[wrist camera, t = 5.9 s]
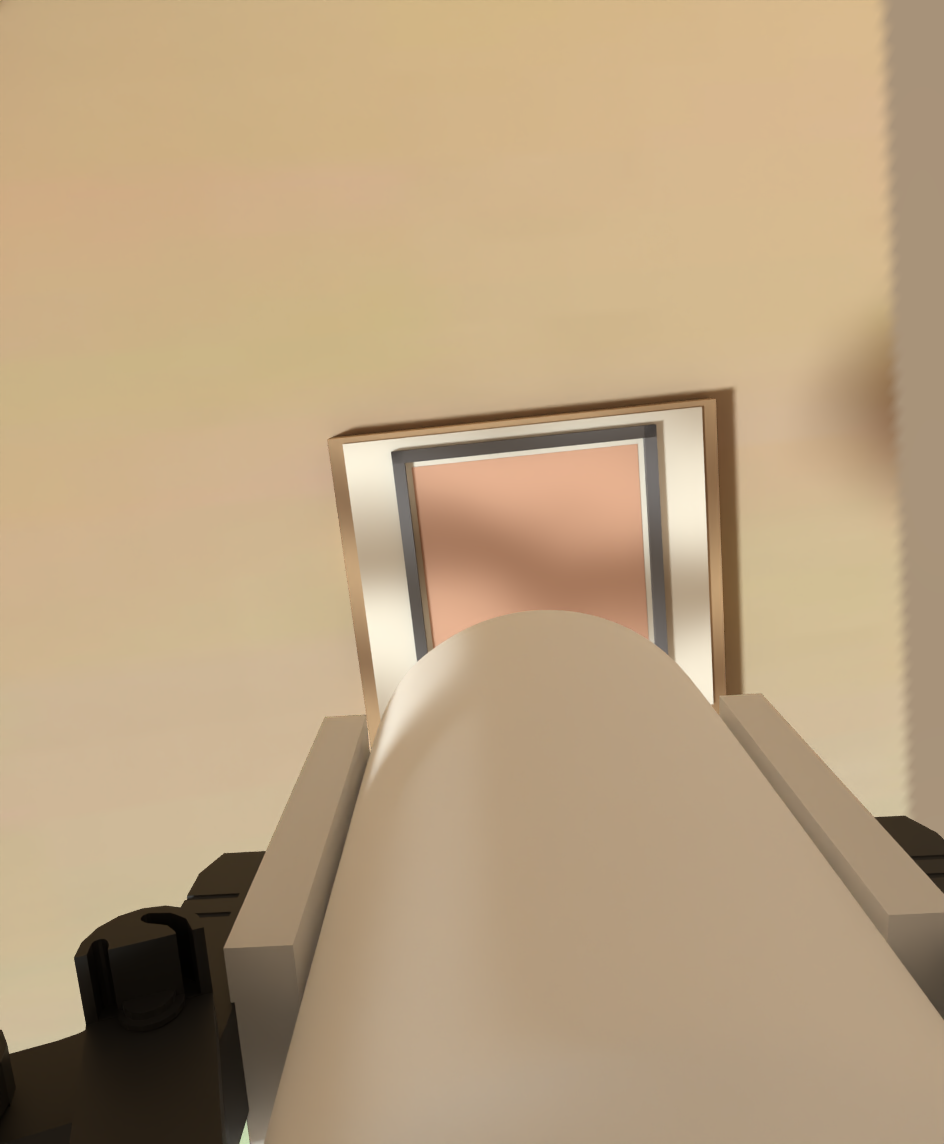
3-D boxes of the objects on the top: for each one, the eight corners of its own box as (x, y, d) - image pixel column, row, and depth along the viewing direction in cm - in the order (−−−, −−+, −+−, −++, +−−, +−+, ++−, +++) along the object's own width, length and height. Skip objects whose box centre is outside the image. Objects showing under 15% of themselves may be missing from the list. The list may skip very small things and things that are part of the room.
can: (467, 540, 15) (457, 1064, 4) (780, 697, 16) (1626, 1568, 4) (314, 836, 17) (-62, 1938, 5) (610, 970, 17) (904, 2227, 6)
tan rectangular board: (331, 437, 30) (318, 444, 27) (709, 397, 29) (732, 401, 27) (395, 897, 34) (390, 940, 31) (726, 865, 34) (747, 906, 31)
